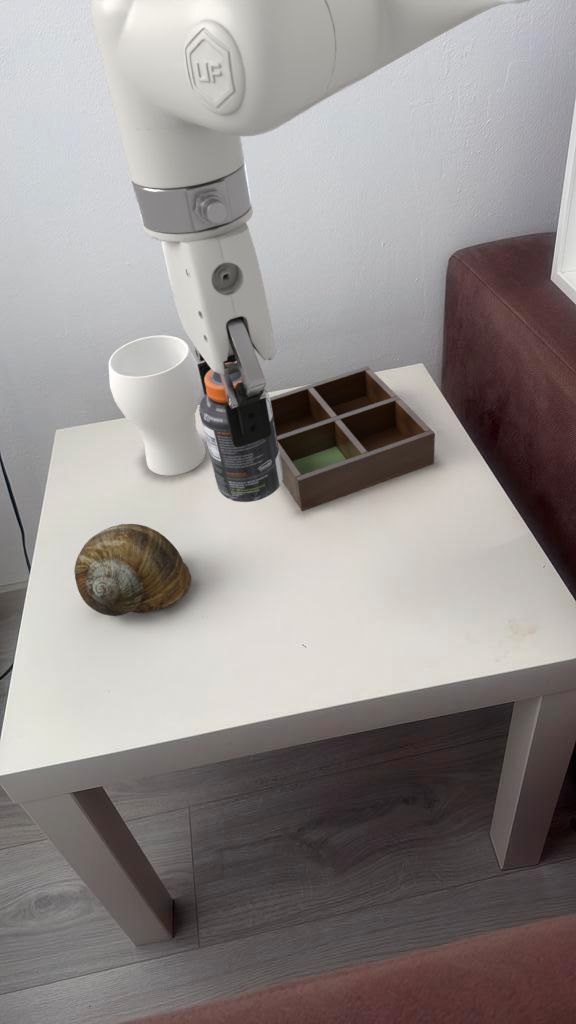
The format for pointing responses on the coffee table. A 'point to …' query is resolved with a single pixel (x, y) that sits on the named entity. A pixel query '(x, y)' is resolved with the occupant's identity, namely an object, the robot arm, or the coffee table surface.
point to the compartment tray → (346, 437)
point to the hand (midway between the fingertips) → (237, 417)
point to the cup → (160, 400)
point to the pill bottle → (238, 448)
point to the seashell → (130, 571)
